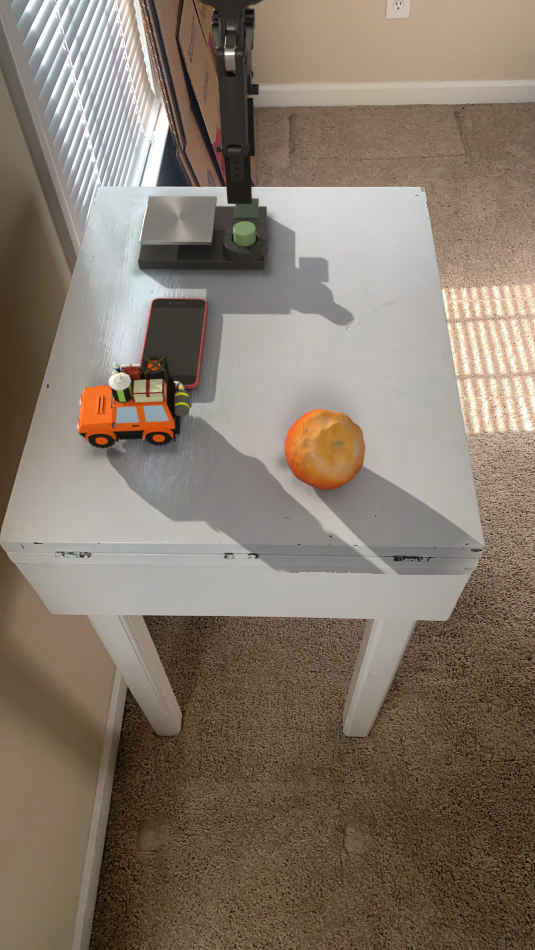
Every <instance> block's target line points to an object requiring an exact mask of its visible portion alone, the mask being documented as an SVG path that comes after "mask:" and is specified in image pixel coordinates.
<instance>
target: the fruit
mask: <svg viewBox="0 0 535 950" xmlns="http://www.w3.org/2000/svg"><path fill="white" fill-rule="evenodd" d="M363 432H364V431H363V430H362V428H361V427H360V425H358V424H357V423H355V422H354V421H353V420H352V419H351V417H350V416H349V415H348V414H347V413H344V412H341V411H339V412H338V411H333V410H328V409H323V408H316V409H313V410H309V411H307V412H305V413H304V414H302V415H301V416H300V417H299V418H298V419H297V420H295V421H294V423H293V424H292V425H290V426H289V429H288V431H287V433H286V437H285V439H284V445H283V446H284V447H283V449H284V457H285V462H286V463H287V465H288V468H289V470H290V471H291V473H292V474H293V476H294V477H295V478H296V479H297V480H299V481H300V482H302V483H304V484H306V485H307V486H310V487H312V488H314V489H317V490H322V491H331V490H334V489H338V488H340V487H342V486H344V485H346V484H348V483H349V482H350V481H352V480H353V479H354V478H355V476H356V475H357V474H358V473H359V471H361V469H362V467H363V465H364V461H365V453H366V444H365V439H364V433H363Z"/></svg>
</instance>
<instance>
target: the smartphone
mask: <svg viewBox="0 0 535 950" xmlns="http://www.w3.org/2000/svg"><path fill="white" fill-rule="evenodd" d="M208 305H209V303H208V301H207V300H206V299H205V298H189V297H188V298H186V297H159V298H158V297H157V298H154V299H152V301H151V303H150V308H149V312H148V317H147V324H146V329H145V335H144V341H143V346H142V351H141V356H140V362H139V364H141V363H142V361H143V358H144V357H146V358H147V357H150V356H155V355H158V356H161V357H163V356H164V357H165V359H166V362H167V363H168V369H169V374H170V376H171V378H172V379H173V381H177V382H181V383H182V385H183V386H184V390H192V389H195V388H196V387H197V386H198V385H199V381H200V373H201V365H202V358H203V357H202V356H203V348H204V341H205V340H204V339H205V332H206V324H207V315H208V308H209V307H208ZM175 389H176V390H179V388H178V387H177V386H175Z"/></svg>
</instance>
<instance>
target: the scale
mask: <svg viewBox="0 0 535 950" xmlns="http://www.w3.org/2000/svg"><path fill="white" fill-rule="evenodd" d="M234 215H235V206H234V205H233V206H232V205H231V206H230V205H229V206H228V205H227V206H226V205H221V206H220V205H219V206H218V205H216V213H215V223H214V232H213V242H212V245H140V246H139V247H140V248H139V252H138V257H137V263H138V264H137V265H138V268H139V270H200V271H201V270H207V271H208V270H209V271H210V270H214V271H215V270H218V271H219V270H225V271H226V270H227V271H230V270H233V271H236V270H237V271H245V270H246V271H249V270H250V271H252V270H253V271H265V269H266V254H268V252H269V235H268V232H267V227H268V226H267V225H268V207H267V206H265V205H264V206H262V205H261V206H260V205H259V206H258V220H235V219H234ZM242 221H248V222H251V223H253V224H254V225H255V227H256V242H255V243H254V244H253V245H251V246H248V247H246V246H238V245H236V244H235V242H234V235H233V227H234V225H235V224H237V223H239V222H242Z"/></svg>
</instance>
